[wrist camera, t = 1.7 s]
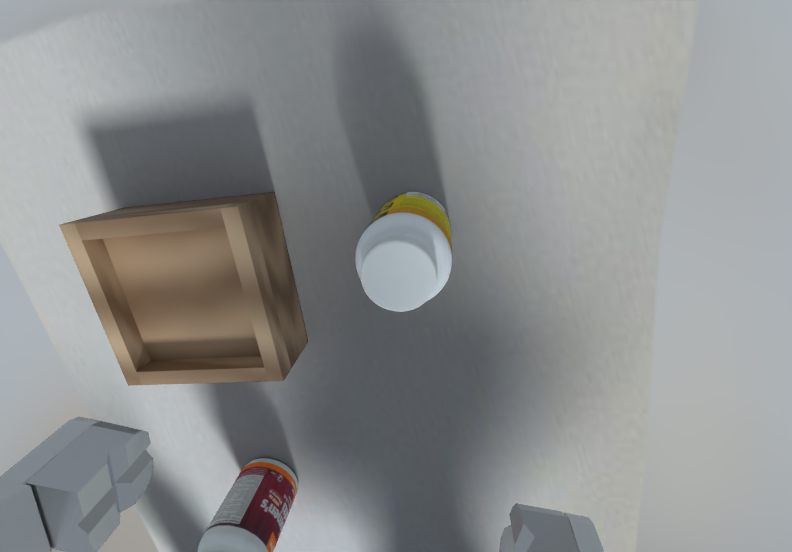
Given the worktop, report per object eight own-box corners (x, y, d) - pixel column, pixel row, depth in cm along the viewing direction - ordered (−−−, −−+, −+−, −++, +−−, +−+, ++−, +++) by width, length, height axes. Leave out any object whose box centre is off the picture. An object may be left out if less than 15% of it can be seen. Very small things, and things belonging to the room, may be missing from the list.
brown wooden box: (307, 341, 34) (283, 380, 29) (173, 347, 36) (128, 385, 31) (274, 191, 29) (237, 206, 24) (122, 208, 31) (59, 224, 26)
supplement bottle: (395, 177, 28) (370, 204, 19) (464, 210, 28) (474, 254, 19) (365, 243, 30) (328, 298, 21) (429, 274, 30) (422, 342, 21)
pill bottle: (309, 493, 41) (263, 620, 30) (260, 503, 42) (200, 628, 32) (282, 449, 39) (222, 569, 29) (232, 462, 41) (158, 580, 30)
